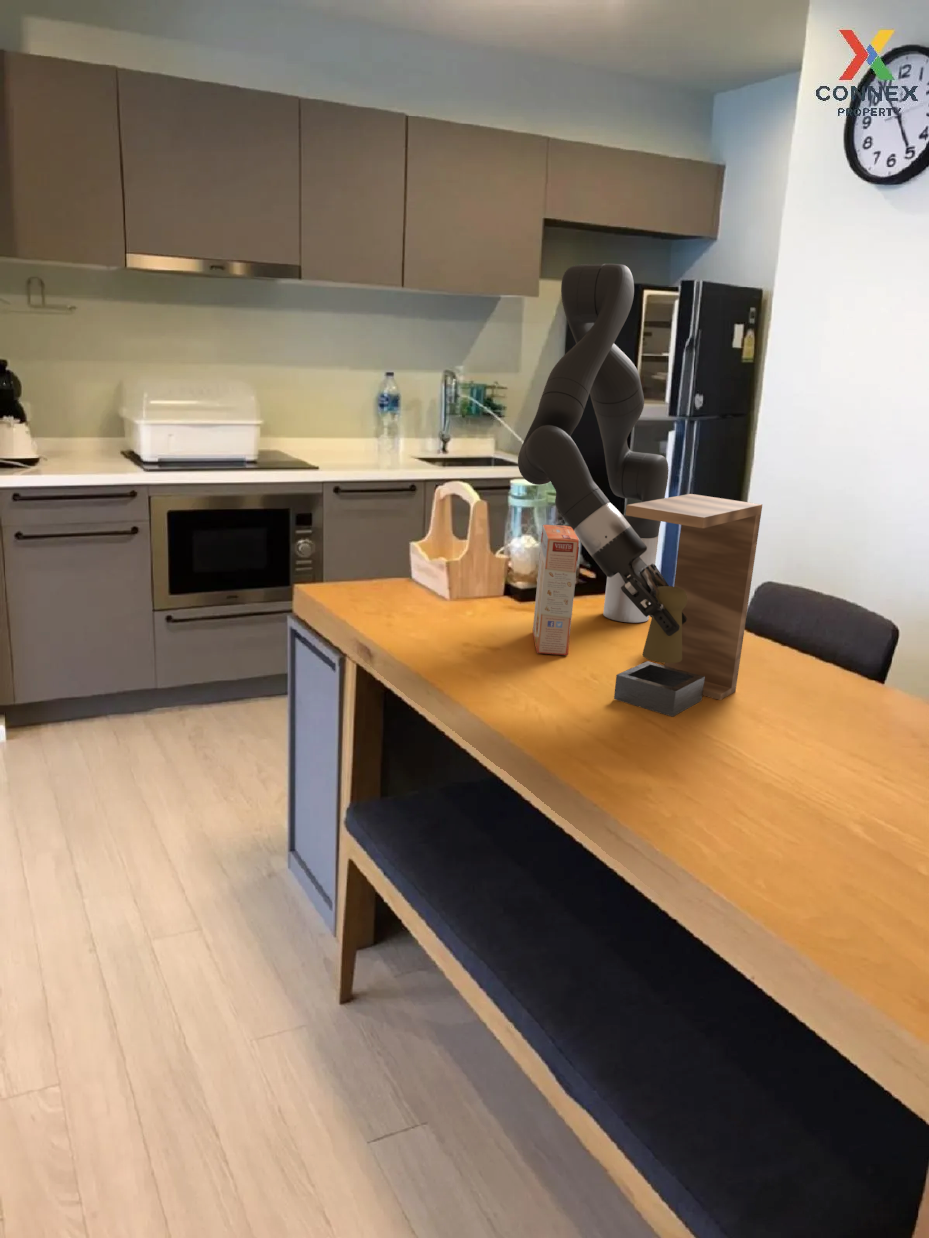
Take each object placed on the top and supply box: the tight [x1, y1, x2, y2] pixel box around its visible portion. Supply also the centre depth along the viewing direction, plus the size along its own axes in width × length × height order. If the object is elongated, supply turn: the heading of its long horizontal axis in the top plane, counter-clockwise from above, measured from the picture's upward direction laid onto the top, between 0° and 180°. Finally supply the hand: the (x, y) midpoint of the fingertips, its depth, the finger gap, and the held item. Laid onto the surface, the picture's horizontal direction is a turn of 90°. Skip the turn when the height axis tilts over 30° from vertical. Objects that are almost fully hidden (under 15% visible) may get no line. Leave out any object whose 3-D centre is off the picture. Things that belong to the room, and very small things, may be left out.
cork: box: [641, 585, 687, 664], centre depth 148 cm, size 6×6×11 cm
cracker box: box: [532, 524, 581, 656], centre depth 174 cm, size 14×6×21 cm, turn 179°
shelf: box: [625, 493, 763, 701], centre depth 149 cm, size 21×12×30 cm, turn 142°
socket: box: [613, 660, 705, 717], centre depth 151 cm, size 10×10×4 cm
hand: (678, 627), depth 147 cm, fingers closed on cork, 5 cm apart
